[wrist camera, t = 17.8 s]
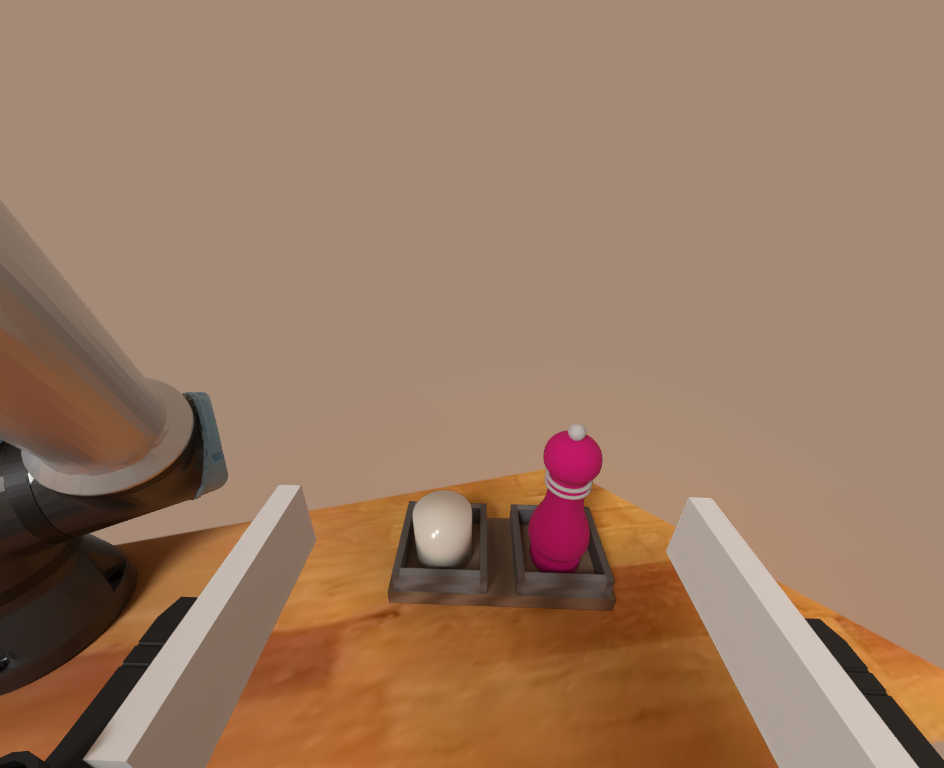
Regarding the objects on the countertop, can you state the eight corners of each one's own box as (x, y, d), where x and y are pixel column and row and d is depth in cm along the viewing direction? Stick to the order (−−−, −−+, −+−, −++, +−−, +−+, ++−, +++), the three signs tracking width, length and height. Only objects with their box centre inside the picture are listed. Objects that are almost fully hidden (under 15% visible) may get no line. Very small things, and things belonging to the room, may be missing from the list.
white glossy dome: (412, 576, 42) (407, 536, 38) (422, 527, 48) (418, 489, 45) (471, 577, 42) (470, 538, 38) (473, 528, 48) (472, 490, 44)
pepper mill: (551, 522, 49) (572, 399, 40) (595, 560, 44) (631, 429, 35) (513, 549, 45) (527, 420, 36) (556, 595, 40) (585, 457, 31)
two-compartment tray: (389, 602, 41) (384, 575, 39) (407, 525, 51) (404, 499, 48) (612, 610, 41) (621, 583, 38) (587, 531, 50) (593, 505, 48)
